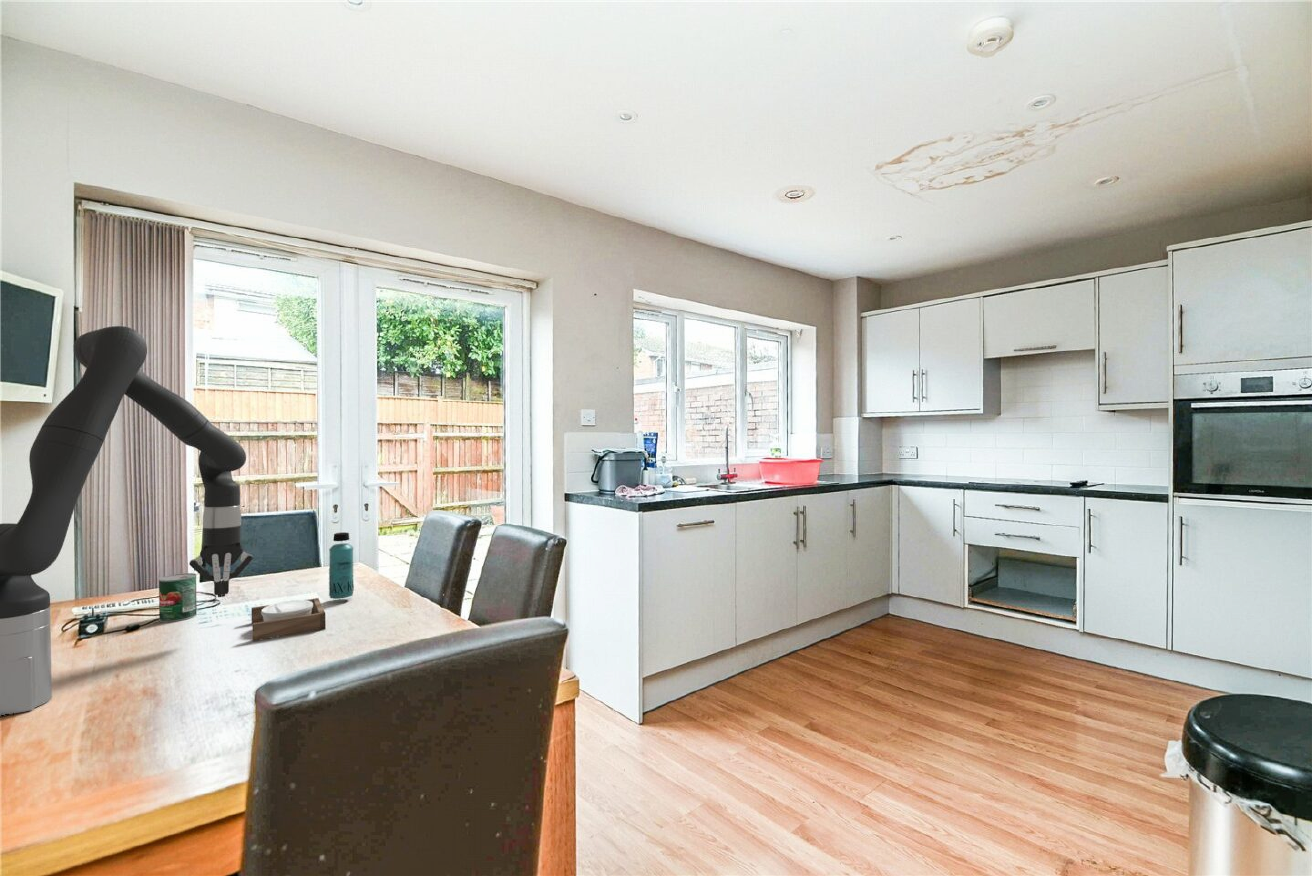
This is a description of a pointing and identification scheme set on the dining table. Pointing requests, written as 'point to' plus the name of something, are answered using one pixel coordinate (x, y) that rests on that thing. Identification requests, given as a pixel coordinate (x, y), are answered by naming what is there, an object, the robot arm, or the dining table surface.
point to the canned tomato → (177, 597)
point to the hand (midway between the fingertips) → (221, 596)
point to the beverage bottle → (341, 568)
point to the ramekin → (287, 610)
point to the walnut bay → (287, 622)
